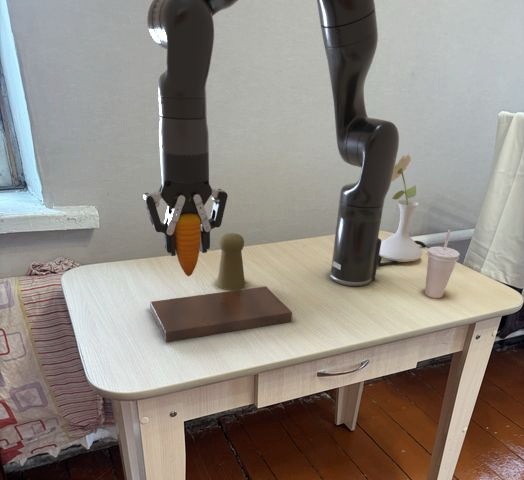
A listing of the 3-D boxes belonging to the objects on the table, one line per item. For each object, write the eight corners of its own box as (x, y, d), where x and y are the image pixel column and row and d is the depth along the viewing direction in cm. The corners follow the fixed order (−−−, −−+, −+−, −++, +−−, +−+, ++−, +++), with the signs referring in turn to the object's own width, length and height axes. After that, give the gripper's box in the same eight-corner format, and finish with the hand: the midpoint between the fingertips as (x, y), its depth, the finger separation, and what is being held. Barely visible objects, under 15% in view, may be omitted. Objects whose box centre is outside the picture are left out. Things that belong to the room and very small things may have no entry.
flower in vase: (399, 247, 134) (418, 147, 121) (430, 262, 126) (454, 156, 113) (360, 253, 129) (376, 150, 116) (389, 269, 120) (410, 159, 107)
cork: (241, 291, 106) (242, 241, 100) (213, 288, 107) (213, 237, 101) (247, 280, 111) (249, 231, 105) (221, 277, 112) (221, 228, 106)
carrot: (180, 283, 86) (176, 194, 78) (170, 273, 90) (165, 187, 82) (207, 279, 88) (205, 192, 81) (196, 269, 92) (194, 185, 84)
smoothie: (450, 292, 110) (467, 229, 103) (446, 303, 105) (463, 238, 98) (421, 285, 113) (435, 224, 105) (415, 296, 108) (430, 232, 100)
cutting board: (265, 294, 105) (266, 286, 104) (291, 321, 95) (292, 312, 94) (150, 311, 97) (149, 301, 95) (166, 342, 87) (165, 332, 86)
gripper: (142, 154, 73) (151, 265, 81) (236, 151, 78) (234, 256, 87) (133, 145, 79) (141, 249, 87) (220, 143, 84) (220, 242, 92)
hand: (188, 252), depth 87 cm, fingers closed on carrot, 5 cm apart
